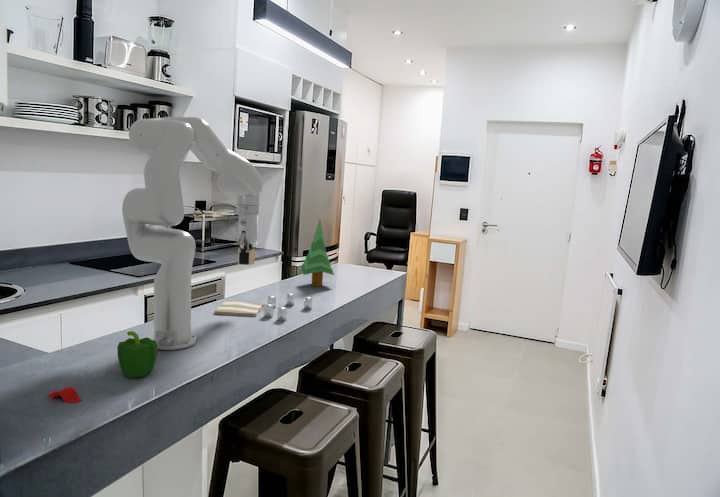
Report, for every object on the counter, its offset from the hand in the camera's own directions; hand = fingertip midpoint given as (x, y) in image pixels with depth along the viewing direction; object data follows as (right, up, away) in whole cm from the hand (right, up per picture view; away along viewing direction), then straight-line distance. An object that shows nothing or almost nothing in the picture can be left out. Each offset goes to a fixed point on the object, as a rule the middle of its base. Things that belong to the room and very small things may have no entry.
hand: (246, 262), depth 174 cm
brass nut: (0, 0, 0) cm, 1 cm away
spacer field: (+13, -18, +4) cm, 22 cm away
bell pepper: (-13, -25, -56) cm, 63 cm away
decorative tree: (+20, -12, +48) cm, 54 cm away
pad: (-3, -17, +2) cm, 17 cm away
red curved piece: (-22, -27, -70) cm, 78 cm away
